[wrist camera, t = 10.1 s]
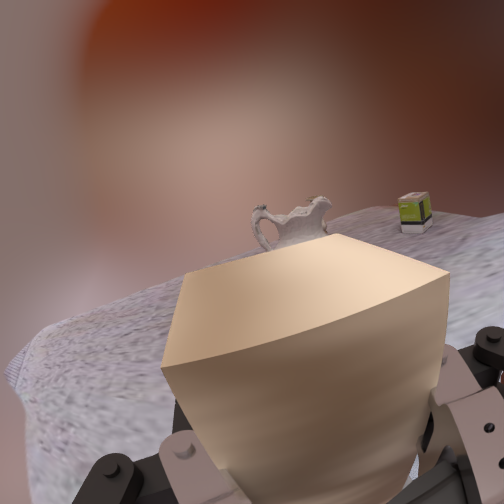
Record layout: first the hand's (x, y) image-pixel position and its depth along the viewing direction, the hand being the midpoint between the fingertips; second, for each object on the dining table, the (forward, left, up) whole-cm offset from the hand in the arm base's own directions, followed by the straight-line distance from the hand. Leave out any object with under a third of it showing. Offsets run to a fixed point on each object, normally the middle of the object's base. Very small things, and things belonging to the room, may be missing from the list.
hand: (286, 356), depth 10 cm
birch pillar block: (0, +3, -6) cm, 7 cm away
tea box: (-77, -83, -24) cm, 115 cm away
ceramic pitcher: (-17, -60, -24) cm, 67 cm away
